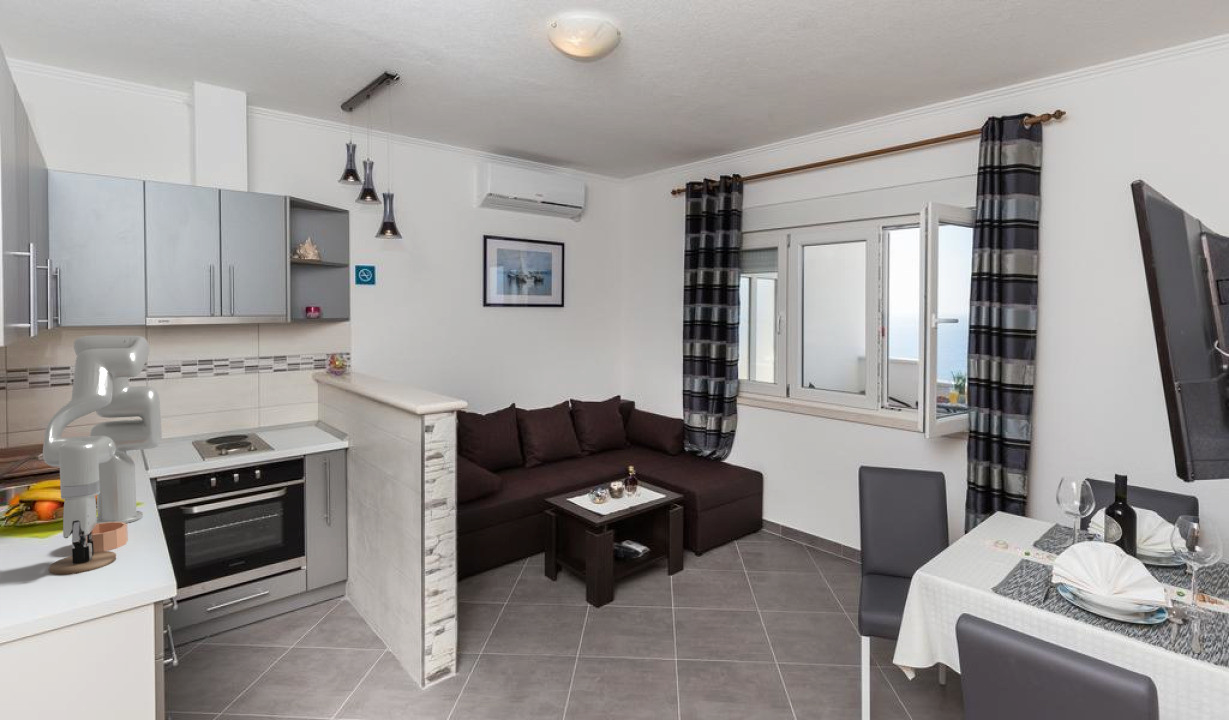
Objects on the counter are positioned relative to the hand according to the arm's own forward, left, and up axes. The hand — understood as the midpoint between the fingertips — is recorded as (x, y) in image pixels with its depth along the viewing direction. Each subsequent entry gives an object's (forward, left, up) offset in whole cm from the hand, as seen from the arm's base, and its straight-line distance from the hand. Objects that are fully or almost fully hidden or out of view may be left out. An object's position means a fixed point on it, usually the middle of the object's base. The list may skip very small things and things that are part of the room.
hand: (83, 558), depth 156 cm
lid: (0, 0, -1) cm, 1 cm away
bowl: (-14, +1, -1) cm, 14 cm away
